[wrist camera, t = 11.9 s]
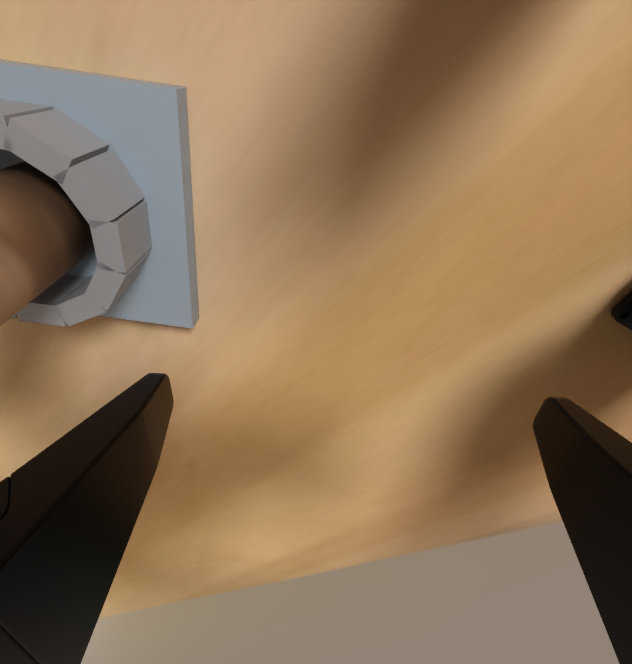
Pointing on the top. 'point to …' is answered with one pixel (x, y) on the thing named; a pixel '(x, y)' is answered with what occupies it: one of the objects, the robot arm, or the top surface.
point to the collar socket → (109, 189)
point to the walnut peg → (36, 236)
